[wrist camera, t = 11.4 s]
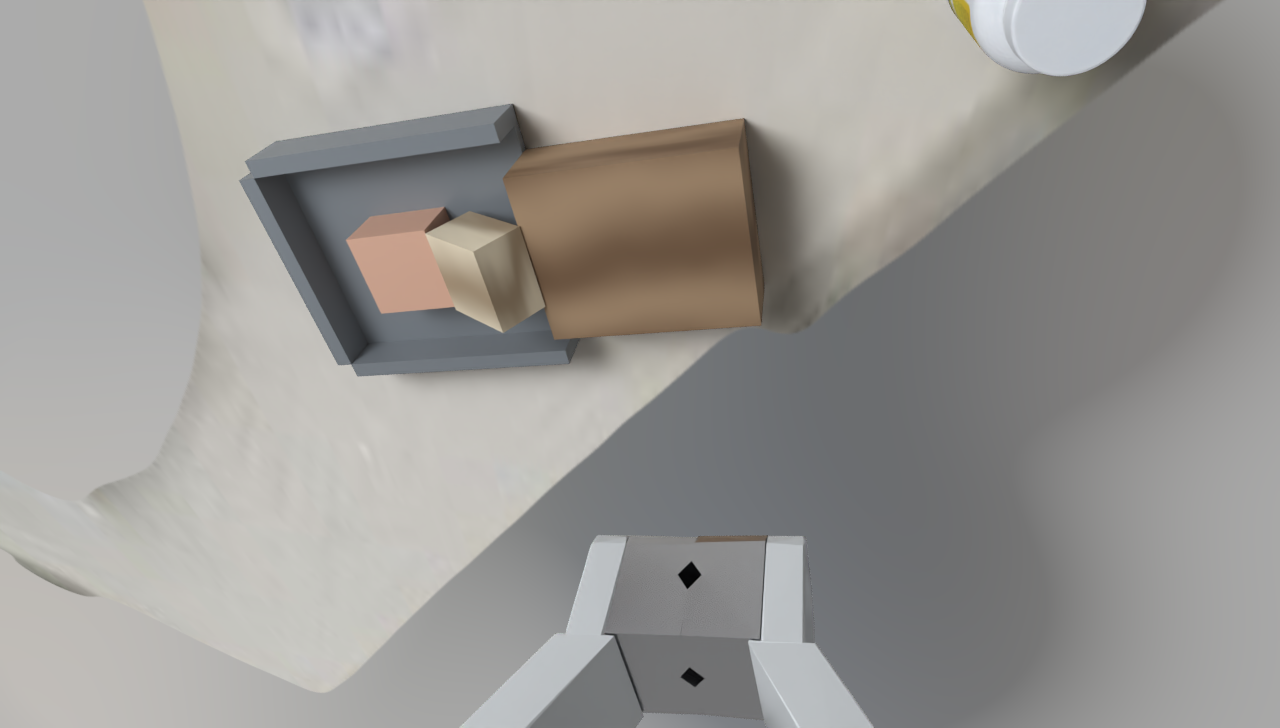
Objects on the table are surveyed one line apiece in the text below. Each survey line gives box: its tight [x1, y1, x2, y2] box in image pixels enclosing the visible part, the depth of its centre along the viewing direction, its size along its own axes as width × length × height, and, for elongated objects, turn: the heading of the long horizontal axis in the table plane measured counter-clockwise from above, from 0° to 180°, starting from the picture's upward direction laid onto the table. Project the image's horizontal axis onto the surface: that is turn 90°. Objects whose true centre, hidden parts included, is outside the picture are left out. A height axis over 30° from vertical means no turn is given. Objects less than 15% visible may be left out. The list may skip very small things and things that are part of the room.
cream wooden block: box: [425, 211, 545, 333], centre depth 41 cm, size 5×5×3 cm
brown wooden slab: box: [502, 118, 764, 340], centre depth 41 cm, size 10×12×4 cm
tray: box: [239, 104, 580, 376], centre depth 45 cm, size 15×16×3 cm
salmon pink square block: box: [346, 207, 455, 314], centre depth 44 cm, size 5×5×3 cm
